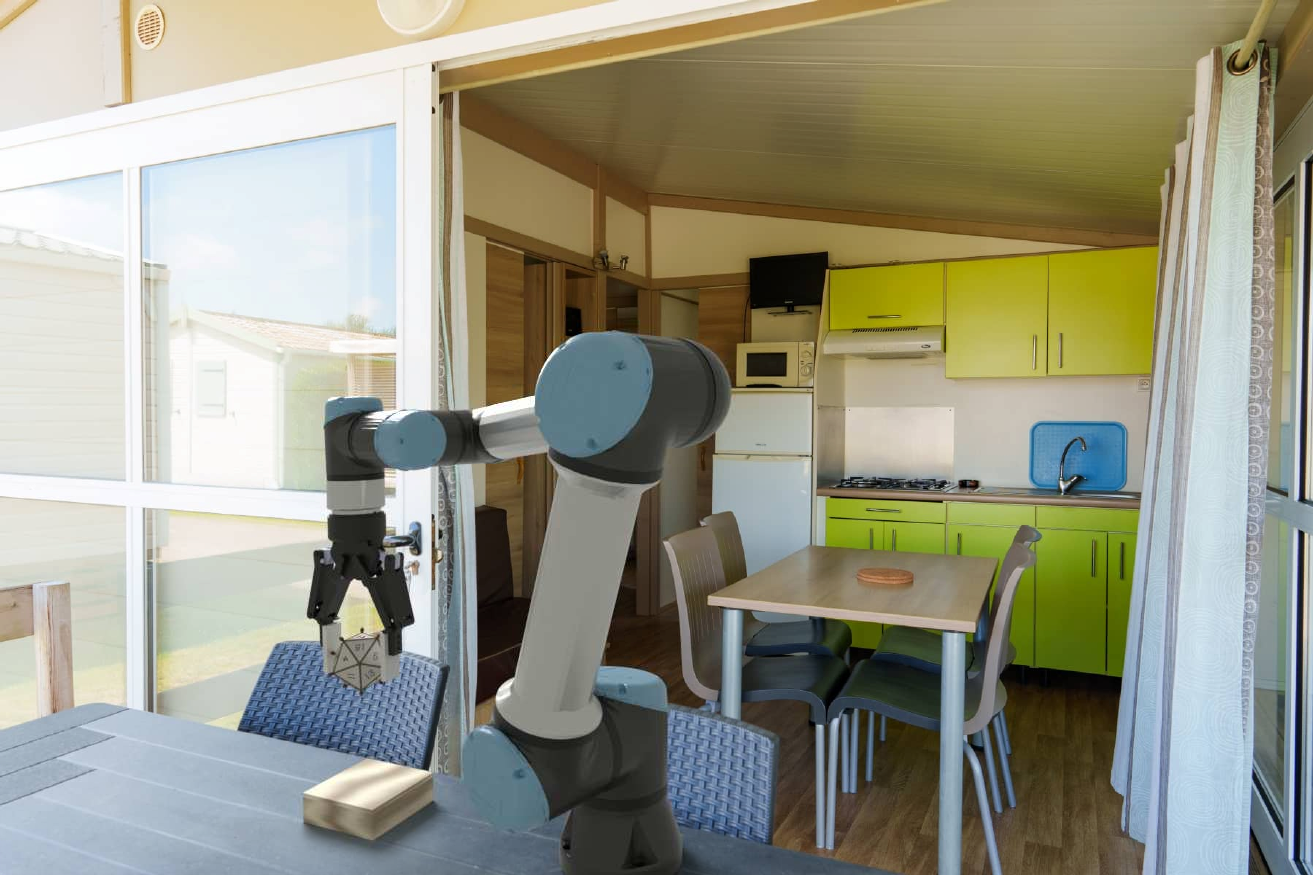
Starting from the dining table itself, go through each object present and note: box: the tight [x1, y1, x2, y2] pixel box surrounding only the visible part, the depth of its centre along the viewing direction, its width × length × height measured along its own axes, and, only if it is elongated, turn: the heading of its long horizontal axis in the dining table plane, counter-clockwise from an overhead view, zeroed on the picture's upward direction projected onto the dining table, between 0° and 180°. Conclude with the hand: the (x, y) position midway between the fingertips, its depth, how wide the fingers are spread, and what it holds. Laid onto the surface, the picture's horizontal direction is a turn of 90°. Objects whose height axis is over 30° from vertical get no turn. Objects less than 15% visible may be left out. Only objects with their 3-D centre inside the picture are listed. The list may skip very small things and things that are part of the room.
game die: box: [326, 626, 384, 698], centre depth 116 cm, size 9×8×10 cm
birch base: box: [302, 758, 435, 841], centre depth 117 cm, size 12×12×4 cm
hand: (361, 674), depth 116 cm, fingers closed on game die, 9 cm apart
